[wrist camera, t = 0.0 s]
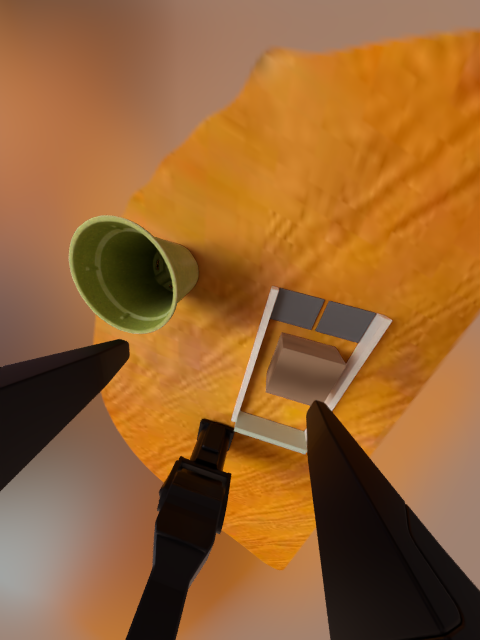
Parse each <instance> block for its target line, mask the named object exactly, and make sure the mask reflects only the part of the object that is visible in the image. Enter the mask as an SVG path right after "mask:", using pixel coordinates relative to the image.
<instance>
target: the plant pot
mask: <svg viewBox="0 0 480 640" xmlns="http://www.w3.org/2000/svg"><path fill="white" fill-rule="evenodd" d="M157 260H159V267H158V268H159V271H158V270H157V266H156V264H157ZM69 264H70V270H71V275H72V278H73V281H74V283H75V285H76V287H77V289H78V291H79V293H80V295H81V297H82V298H83V299H84V301H85V302H86V304H87V305H88V306H89V307H90V308H91V310H93V312H94V313H95V314H96V315H98V316H99V317H100V318H101V319H102V320H104V321H105V322H106V323H108V324H109V325H111V326H113V327H115V328H117V329H119V330H121V331H125V332H129V333H134V334H145V333H151V332H154V331H156V330H158V329H160V328H161V327H163V326H164V325H165V324H166V323H167V322H168V321H169V320H170V319H171V317H172V316H173V314H174V312H175V309H176V306H177V303H178V302H179V301H180V300H181V299H182V298H183V297H184V296H185V295H186V294H187V293H189V292H190V291H191V290H192V289H193V287H194V286H195V285H196V283H197V280H198V274H199V272H198V265H197V262H196V261H195V259H194V257H193V256H192V254H191V253H190V251H189V250H188V249H187V248H185V247H184V246H182V245H179V244H177V243H174V242H170V241H166V240H163V239H160V238H157V237H154V236H153V235H151V234H150V233H149V232H148V231H147V230H145V229H144V228H143V227H141V226H140V225H138V224H136V223H134V222H132V221H130V220H128V219H124V218H121V217H116V216H98V217H94V218H91V219H89V220H87V221H86V222H84V223H83V224H82V225H81V226H79V227H78V229H77V230H76V232H75V233H74V235H73V238H72V240H71V244H70V249H69ZM169 285H171V286H173V289H172V288H170V287H169Z"/></svg>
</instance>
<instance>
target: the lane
mask: <svg viewBox="0 0 480 640" xmlns="http://www.w3.org/2000/svg"><path fill="white" fill-rule="evenodd" d="M278 291H279V288H278V287H275V286H272V287H271V290H270V293H269V296H268V300H267V303H266V306H265V310H264V313H263V316H262V319H261V323H260V326H259V329H258V333H257V336H256V339H255V342H254V346H253V349H252V352H251V356H250V359H249V362H248V365H247V369H246V372H245V375H244V379H243V382H242V385H241V388H240V392H239V395H238V398H237V402H236V405H235V408H234V411H233V415H232V419H231V421H233V422H236V423H235V428H234V431H235V432H238V433H241V434H244V435H247V436H250V437H253V438H256V439H259V440H263V441H266V442H269V443H272V444H275V445H278V446H281V447H284V448H287V449H290V450H293V451H296V452H299V453H302V454H306V452H307V428H306V430H305V431H301V430H298V429H295V428H292V427H289V426H285V425H282V424H279V423H276V422H273V421H270V420H267V419H264V418H260V417H257V416H254V415H251V414H248V413H245V412H242V411H240V408H241V405H242V402H243V398H244V395H245V392H246V389H247V386H248V383H249V380H250V377H251V374H252V371H253V368H254V365H255V362H256V359H257V356H258V352H259V349H260V346H261V343H262V340H263V337H264V334H265V331H266V328H267V325H268V322H269V319H270V316H271V313H272V310H273V306H274V303H275V300H276V297H277V294H278ZM391 322H392V320H391V319H389V318H388V317H386V316H385V315H382V314H378V313H377V314H376V316H375V317H374V319H373V321H372V322H371V324H370V326H369V327H368V329H367V330H366V332H365V334H364V335H363V337H362V339H361V340H360V342H359V343H358V345H357V347H356V348H355V350H354V352H353V353H352V355H351V356H350V358H349V360H348V361H347V363H346V365H347V366H346V367H345V369H344V371H343V372H342V374H341V375H340V377H339V379H338V380H337V382H336V384H335V385H334V387H333V389H332V390H331V392H330V394H329V395H328V397H327V399H326V400H325V402H324V403H325V404H326V405H327V406H328V407H329V408H330V410H331V411H332V410H333V408H334V407H335V405H336V404H337V402H338V401H339V400H340V398H341V397H342V395H343V394H344V392H345V391H346V389H347V388H348V386H349V385H350V383H351V382H352V380H353V379H354V377H355V376H356V374H357V373H358V371H359V370H360V368H361V367H362V365H363V364H364V362H365V361H366V359H367V358H368V356H369V355H370V353H371V352H372V350H373V349H374V347H375V346H376V344H377V343H378V341H379V340H380V338H381V337H382V335H383V334H384V332H385V331H386V329H387V328H388V326H389V325H390V323H391Z"/></svg>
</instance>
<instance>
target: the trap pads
mask: <svg viewBox="0 0 480 640" xmlns="http://www.w3.org/2000/svg"><path fill="white" fill-rule="evenodd" d="M323 302H324V299H321V298H317V297H313V296H309V295H305V294H302V293H298V292H294V291H290V290H286V289H283V288H280V290H279V293H278V296H277V299H276V302H275V305H274V308H273V311H272V314H271V317H270V319H274V320H277V321H281V322H284V323H288V324H292V325H295V326H299V327H302V328H306V329H310V330H311V329H312V326H313V324H314V322H315V320H316V318H317V315H318V313H319V311H320V309H321V307H322V304H323ZM375 315H376V313H374V312H370V311H366V310H363V309H359V308H355V307H351V306H347V305H343V304H340V303H336V302H332V301H329V303H328V305H327V307H326V309H325V311H324V313H323V315H322V317H321V320H320V322H319V324H318V326H317V328H316V330H315V331H317V332H321V333H324V334H328V335H331V336H335V337H339V338H342V339H346V340H349V341H353V342H357V343H358V342H359V341H360V339H361V337H362V336H363V334H364V333H365V331H366V329H367V328H368V326H369V324H370V323H371V321H372V319H373V318H374V316H375Z"/></svg>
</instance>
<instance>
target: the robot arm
mask: <svg viewBox="0 0 480 640" xmlns="http://www.w3.org/2000/svg"><path fill="white" fill-rule="evenodd" d="M129 356H130V353H129V343H128V342H127V341H124V340H121V339H117V340H113V341H109V342H104V343H100V344H96V345H92V346H87V347H83V348H79V349H74V350H70V351H66V352H62V353H58V354H53V355H49V356H45V357H40V358H36V359H32V360H27V361H23V362H19V363H15V364H11V365H6V366H3V367H0V491H1V490H2V489H3V488H4V487H5V486H6V485H7V484H8V483H9V482H10V481H11V480H12V479H13V478H14V477H15V476H16V475H17V474H18V473H19V472H20V471H21V470H22V469H23V468H24V467H25V466H26V465H27V464H28V463H29V462H30V461H31V460H32V459H33V458H34V457H35V456H36V455H37V454H38V453H39V452H40V451H41V450H42V449H43V448H44V447H45V446H46V445H47V444H48V443H49V442H50V441H51V440H52V439H53V438H54V437H55V436H56V435H57V434H58V433H59V432H60V431H61V430H62V429H63V428H64V427H65V426H66V425H67V424H68V423H69V422H70V421H71V420H72V419H73V418H74V417H75V416H76V415H77V414H78V413H79V412H80V411H81V410H82V409H83V408H84V407H85V406H86V405H87V404H88V403H89V402H90V401H91V400H92V399H93V398H94V397H95V396H96V395H97V394H98V393H100V392H101V390H102V389H103V388H104V387H105V386H106V385H107V384H108V383H109V382H110V381H111V379H112V378H113V377H114V376H115V375H116V373H117V372H118V371H119V370H120V369H121V367H122V366H123V365H124V364H125V363H126V361H127V360H128V359H129ZM306 422H307V455H308V464H309V472H310V480H311V488H312V496H313V504H314V512H315V520H316V528H317V536H318V544H319V551H320V560H321V568H322V576H323V583H324V591H325V600H326V607H327V616H328V623H329V631H330V638H331V640H480V591H479V589H478V588H477V587H476V586H475V585H474V584H473V583H472V581H470V579H469V578H468V577H467V576H466V575H465V573H464V572H463V571H462V570H461V569H460V567H459V566H458V565H457V564H456V563H455V562H454V560H453V559H452V558H451V557H450V556H449V555H448V553H446V551H445V550H444V549H443V548H442V547H441V545H440V544H439V543H438V542H437V540H436V539H435V538H434V537H433V536H432V534H431V533H430V532H429V531H428V529H427V528H426V527H425V526H424V525H423V523H422V522H421V521H420V520H419V519H418V517H417V516H416V515H415V514H414V512H413V511H412V510H411V509H410V508H409V506H408V505H407V504H405V501H404V500H403V499H402V498H401V496H400V495H399V494H398V493H397V491H396V490H395V489H394V488H393V487H392V485H391V484H390V483H389V482H388V480H387V479H386V478H385V477H384V475H383V474H382V473H381V472H380V470H379V469H378V468H377V467H376V466H375V464H374V463H373V462H372V460H371V459H370V458H369V457H368V455H367V454H366V453H365V452H364V451H363V449H362V448H361V447H360V446H359V444H358V443H357V442H356V441H355V439H354V438H353V437H352V436H351V434H350V433H349V432H348V431H347V429H346V428H345V427H344V426H343V425H342V423H341V422H340V421H339V420H338V418H337V417H336V416H335V415H334V413H333V412H332V411H331V410H330V408H329V407H328V406H327V405H326V404H325V403H324V402H321V401H318V400H314V401H313V403H312V405H311V406H310V408H309V410H308V411H307V415H306ZM234 432H235V431H234V429H232V428H229V427H226V426H223V425H220V424H217V423H214V422H211V421H208V420H205V419H202V420H201V422H200V427H199V432H198V437H197V442H196V445H195V447H194V450H193V452H192V455H191V457H190V460H189V459H186V458H184V457H182V456H180V458H179V460H177V461H176V462H175V464H174V466H173V468H172V470H171V472H170V474H169V476H168V477H167V479H166V481H165V482H164V484H163V485H162V487H161V489H160V491H159V496H160V499H159V504H158V508H157V511H159V514H158V517H157V519H156V522H155V532H154V547H153V567H152V571H151V574H150V576H149V579H148V582H147V584H146V587H145V590H144V592H143V595H142V598H141V600H140V603H139V605H138V608H137V611H136V613H135V616H134V618H133V621H132V624H131V627H130V629H129V632H128V635H127V637H126V640H175V639H176V636H177V632H178V628H179V624H180V620H181V615H182V612H183V607H184V603H185V599H186V595H187V591H188V589H189V587H190V585H191V584H192V582H193V581H194V579H195V578H196V576H197V574H198V573H199V571H200V570H201V568H202V567H203V565H204V563H205V562H206V560H207V558H208V556H209V553H210V551H211V548H212V546H213V544H214V540H215V535H216V533H218V534H220V532H221V529H222V526H223V522H224V517H225V512H226V507H227V501H228V494H229V487H230V480H231V473H226V472H223V467H224V463H225V458H226V454H227V451H228V450H229V448H230V445H231V442H232V439H233V436H234Z"/></svg>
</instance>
